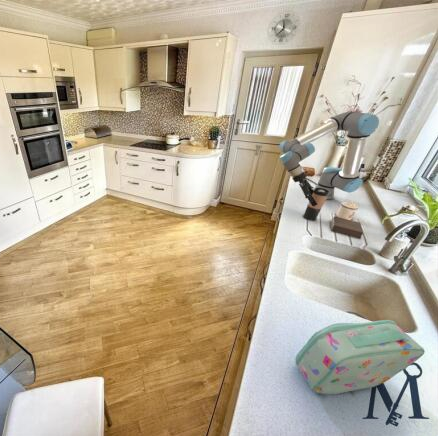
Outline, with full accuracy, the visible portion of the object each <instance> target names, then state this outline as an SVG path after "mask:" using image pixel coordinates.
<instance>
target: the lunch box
mask: <svg viewBox="0 0 438 436" xmlns="http://www.w3.org/2000/svg"><path fill="white" fill-rule="evenodd" d="M425 351H426V350H425V348H424V347H423V346H422V345H420V344H419V343H418V342H417V341H415V339H413V338H412V337H411V336H410V335H409V334H407V333H406V332H405V330H403V329H402V328H401V327H400V326H399V325H398V324H397V322H395V321H394V320H390V319H380V320H374V321H369V322H340V323H333V324H330V325H327V326H325V327H324V328H322V329H320V330H318V331H316V332H315V333H313V335H312V336H310V338H309V339H308V341H307V342H306V343H305V345H303V347H302V348H301V349H300V350H299V352H297V354H296V356H295V359H294V360H295V365H296V366H297V367H298V369H299V371H300V372H301V374H302V375H303V377H304V379H305V380H306V382H307V384H308V386H309V387H310V389H311V391H312V392H313V393H316V394H322V395H329V396H331V395H337V394H343V393H348V392H352V391H354V392H355V391H359V390H364V389H365V390H366V389H371V388H375V387H377V386H379V385H381V384H383V383H386V382H387V381H389V380H391V379H392V378H393V377H396V375H397V374H399V373H401V372H403V371H404V370H405V369H407V368H408V367H410V366H411V365H413V364H414V363H415V362H416V361H418V360H419V359H420V358H422V356H424V354H425Z"/></svg>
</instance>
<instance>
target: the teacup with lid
mask: <svg viewBox="0 0 438 436" xmlns="http://www.w3.org/2000/svg"><path fill="white" fill-rule="evenodd" d="M358 210H359V206H358V205H357V204H355V203H354V201H352V200H350V201H346V202H345V201H343V202H341V203H340V205H339V208H338V210H337V212H336V214H335V215H336V216H335V217H339V218H343V219H347V220H351V221H352V219H353V218H354V216H355V214H356V212H357V211H358Z"/></svg>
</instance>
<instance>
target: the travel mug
mask: <svg viewBox="0 0 438 436" xmlns="http://www.w3.org/2000/svg"><path fill="white" fill-rule="evenodd" d="M314 188H315V187H314ZM328 193H329V191H328V190H326V189H323V188H315V190H314V192H313V194H312V196H313V198H314V199H315V201H316V203H317V204H318V205H315V206H312V205H311V203H310V202H309V201H308V203H307V206H306V209H305V211H304V213H303V216H302V217H303V218H304V219H305V220H308V221H316V220H317V218H318V217H319V216H318V215H319V214H320V212H321V211H322V208H323V206H324V204H325V202H326V200H327V199H326V197H327V195H328Z"/></svg>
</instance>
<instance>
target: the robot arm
mask: <svg viewBox="0 0 438 436" xmlns="http://www.w3.org/2000/svg"><path fill="white" fill-rule="evenodd" d="M379 125H380V119H379V117H378V116H377V115H376V114H374V113H369V112H359V111H358V112H357V111H345V112H342V113H339V114H336V115H334V116H332V117H329V118H327V120H325V121H324V122H323V123H321V124H320V125H318V126H315V127H313V128H312V129H310V130H308V131H306V132H304V133H302V134H300V135H298V136H297V137H295V138H292V139H291V140H283V141H282V142H280V144H279V146H278V148H279V151H280V152H282V153H283V154H281V156H280V157H279V160H280V162H281V164H282V165H283V166H284V168H285V170H286V171H287V174H288V175H289V176H290V177H291V180H293V182H294V183H298V185H299V187H300V188H301V191H302V193H303V195H304V196H305V197H304V198H305V199H307V200H308V203H309V202H310V203H311V205H312V206H315V205H318V204H317V203H316V201H315V199H314V198H313V196H312V194H313V192H314V190H315V188H323V189H326V190H328V191H329V193H328V195H327V197H326V200H332V199H334V197H335V188H336V189H338V190H341V191H343V192H346V193H347V194H348V193H353V192H355V191H357V190H359V188H360V187H361V186H362V185H363V184H364V183H363V182H364V180H363V179H362V177H360V176H361V172H360V171H359V169H360V166H361V162H362V161H361V160H362V157H363V153H364V149H365V145H366V141H367V138H369V137H370V136H371V135H372V134H374V133H375V132H376V130H377V129H378V127H379ZM338 131H344V132H346V138H347V139H348V140H347V145H346V149H345V155H344V161H343V164H342V168H341V167H334V166H327V167H324V168H323V170H322V172H321V174H320V177H319V179H318V182H317V183H316V182H315V181H313V180H312V179H310V178H308V177H307V176H308V175H307V173H306V172H305V170H304V168H303V167H302V165H301V164H300V163H301V162H302V161H303V160H305V159H307V158H308V157H310V156H311V155H312V154H314V153H315V152H316V147H315V145H314V144H312V143H313V142H314V141H316V140H318V139H320V138H322V137H324V136H326V135H328V134H330V133H331V134H333V133H336V132H338ZM310 182H312V183H314V185H315V186H312V185H311V183H310Z"/></svg>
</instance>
